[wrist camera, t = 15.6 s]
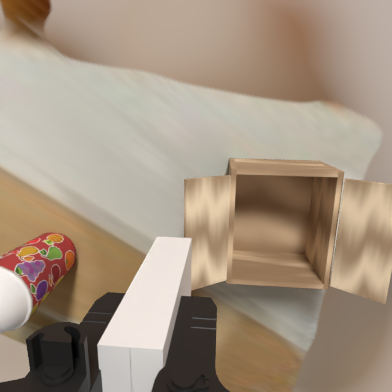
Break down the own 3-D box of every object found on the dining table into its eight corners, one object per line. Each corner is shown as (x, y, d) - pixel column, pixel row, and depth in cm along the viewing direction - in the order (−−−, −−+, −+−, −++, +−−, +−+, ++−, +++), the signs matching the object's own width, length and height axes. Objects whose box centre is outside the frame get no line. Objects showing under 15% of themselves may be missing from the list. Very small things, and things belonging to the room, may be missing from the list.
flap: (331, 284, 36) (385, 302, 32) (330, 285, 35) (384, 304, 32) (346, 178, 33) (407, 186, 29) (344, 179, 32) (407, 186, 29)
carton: (307, 256, 45) (328, 289, 36) (225, 252, 46) (226, 283, 37) (318, 160, 41) (344, 171, 33) (229, 158, 42) (231, 168, 34)
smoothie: (23, 250, 49) (-109, 337, 29) (52, 214, 47) (-69, 281, 27) (64, 283, 49) (-37, 389, 30) (94, 249, 47) (7, 338, 28)
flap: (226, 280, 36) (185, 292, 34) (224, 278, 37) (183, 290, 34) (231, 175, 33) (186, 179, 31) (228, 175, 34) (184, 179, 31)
